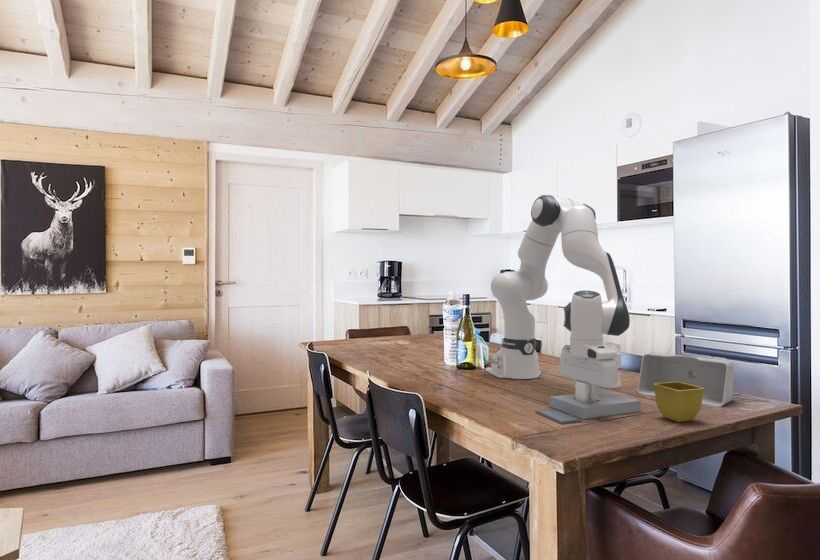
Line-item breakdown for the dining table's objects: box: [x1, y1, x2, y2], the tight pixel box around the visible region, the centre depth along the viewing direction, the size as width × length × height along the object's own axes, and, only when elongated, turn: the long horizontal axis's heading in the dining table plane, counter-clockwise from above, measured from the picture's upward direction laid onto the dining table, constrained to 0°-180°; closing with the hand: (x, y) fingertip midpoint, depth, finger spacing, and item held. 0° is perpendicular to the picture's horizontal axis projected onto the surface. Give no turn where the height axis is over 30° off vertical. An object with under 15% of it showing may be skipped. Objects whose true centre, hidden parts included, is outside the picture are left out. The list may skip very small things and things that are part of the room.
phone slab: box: [535, 408, 583, 425], centre depth 145 cm, size 12×6×1 cm, turn 20°
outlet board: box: [549, 390, 641, 420], centre depth 154 cm, size 14×20×3 cm
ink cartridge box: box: [605, 341, 622, 389], centre depth 185 cm, size 9×5×15 cm, turn 14°
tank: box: [636, 352, 734, 408], centre depth 170 cm, size 25×16×12 cm, turn 44°
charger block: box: [576, 381, 597, 403], centre depth 153 cm, size 4×4×8 cm
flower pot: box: [654, 382, 704, 423], centre depth 143 cm, size 9×9×9 cm
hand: (586, 397), depth 153 cm, fingers open, 4 cm apart
